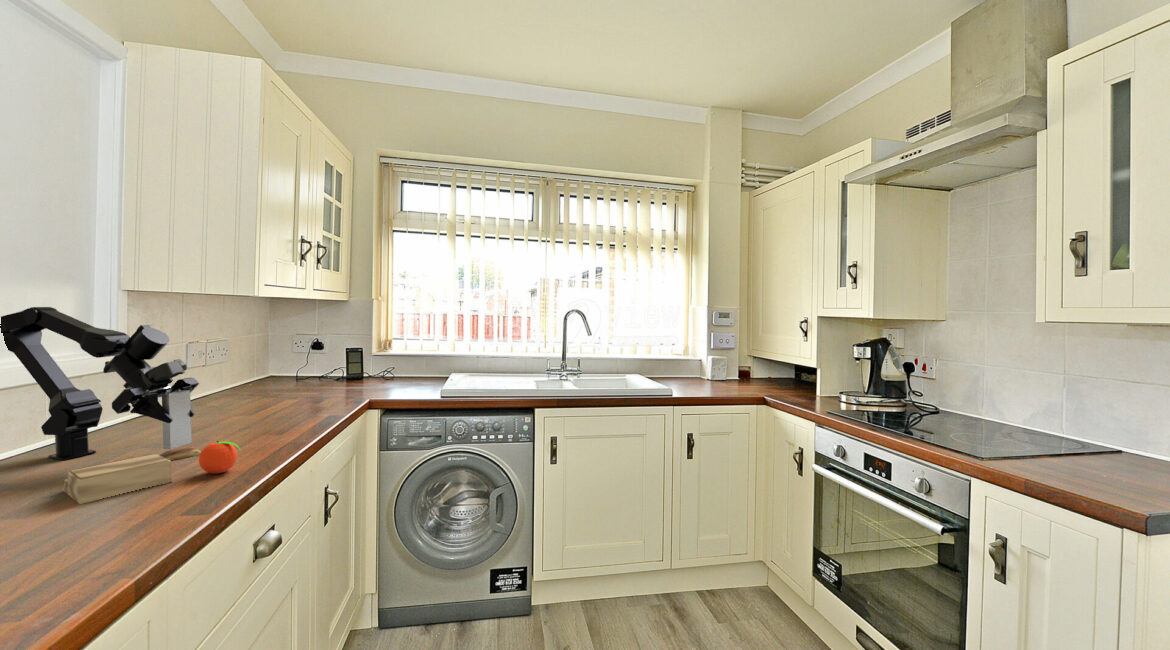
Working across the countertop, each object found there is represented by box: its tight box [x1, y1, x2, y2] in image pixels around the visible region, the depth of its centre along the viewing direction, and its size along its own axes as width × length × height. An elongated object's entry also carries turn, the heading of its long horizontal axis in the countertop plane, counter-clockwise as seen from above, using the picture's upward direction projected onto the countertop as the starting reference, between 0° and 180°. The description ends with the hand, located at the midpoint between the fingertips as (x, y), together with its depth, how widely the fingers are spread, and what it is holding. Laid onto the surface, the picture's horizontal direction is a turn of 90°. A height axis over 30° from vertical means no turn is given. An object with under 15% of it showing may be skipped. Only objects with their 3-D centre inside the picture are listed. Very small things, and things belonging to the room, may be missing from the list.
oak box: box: [63, 453, 173, 505], centre depth 104 cm, size 12×14×5 cm
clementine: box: [198, 440, 242, 475], centre depth 112 cm, size 8×7×7 cm
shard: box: [159, 445, 201, 462], centre depth 123 cm, size 11×8×2 cm
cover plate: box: [161, 390, 193, 450], centre depth 123 cm, size 2×6×13 cm, turn 177°
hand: (182, 418), depth 123 cm, fingers closed on cover plate, 6 cm apart
